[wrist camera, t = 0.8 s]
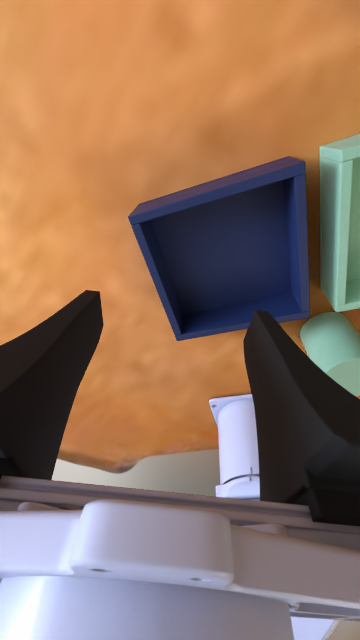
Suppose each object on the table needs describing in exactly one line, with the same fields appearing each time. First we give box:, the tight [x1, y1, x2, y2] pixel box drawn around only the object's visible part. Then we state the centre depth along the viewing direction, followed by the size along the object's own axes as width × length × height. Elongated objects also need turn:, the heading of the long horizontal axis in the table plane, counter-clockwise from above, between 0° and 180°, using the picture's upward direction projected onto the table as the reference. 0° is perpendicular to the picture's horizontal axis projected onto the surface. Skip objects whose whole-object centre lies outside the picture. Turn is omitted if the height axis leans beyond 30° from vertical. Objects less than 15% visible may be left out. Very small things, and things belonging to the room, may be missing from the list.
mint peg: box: [300, 312, 360, 396], centre depth 23 cm, size 4×4×6 cm
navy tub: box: [128, 156, 310, 341], centre depth 20 cm, size 11×11×4 cm
